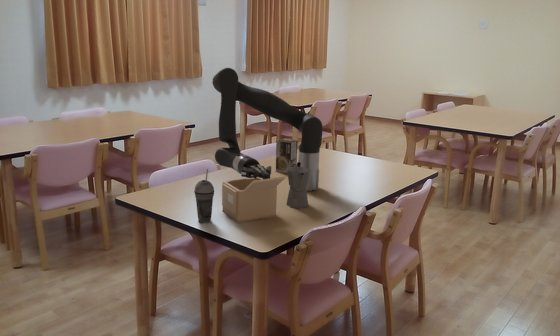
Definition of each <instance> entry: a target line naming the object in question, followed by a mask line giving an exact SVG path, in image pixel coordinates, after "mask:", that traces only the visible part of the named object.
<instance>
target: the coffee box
mask: <svg viewBox="0 0 560 336" xmlns="http://www.w3.org/2000/svg"><path fill="white" fill-rule="evenodd" d="M275 141H276V142H275V145H276V148H275V172H277V171H278V172H277V173H284V174H288V171H287V170H288V168H289V167H292V165H293V164H296V165H297V162H298V161H297V160H298V140H295V139H288V138H280V139H277V140H275Z"/></svg>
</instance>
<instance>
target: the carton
mask: <svg viewBox="0 0 560 336" xmlns="http://www.w3.org/2000/svg"><path fill="white" fill-rule="evenodd" d="M255 180H262V178H258V177H257V178H247V177H246V178H241V179H233V180H224V181H222V184H221V205H222V212H223V213H224V214H226V215H227V216H228V217H229V218H231V219H233V220H234V221H235V222H237V224H241V223H246V222H250V221H251V222H252V221H257V220H262V219H263V220H264V219H267V218H273V216H274V217H276V216H277V199H278V196H277V195H278V194H277V193H278V185H277V186H276V187H274V188H267V189H260V190H253V191H247V192H244V189H245V188H246V187H247V186H248V185H249V184H250V183H251V182H252V181H255Z"/></svg>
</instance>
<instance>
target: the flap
mask: <svg viewBox="0 0 560 336" xmlns="http://www.w3.org/2000/svg"><path fill="white" fill-rule="evenodd" d="M285 180H286V176H277V177H270V178H269V179H262V180H255V181H252V182H251V183H250V184H249V185H248V186H247V187H246V188H245V189H244V192H247V191H253V190H260V189H267V188H274V187H276V186H277V187H278V186H279V185H280V183H282V182H283V181H285Z"/></svg>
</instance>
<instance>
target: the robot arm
mask: <svg viewBox="0 0 560 336" xmlns="http://www.w3.org/2000/svg"><path fill="white" fill-rule="evenodd" d="M211 83H212V86H213V88H214V89H215V90H216V91H217V92H218V93H220V108H219V109H220V110H219V115H218V139H219V142H221V143H226V144H227V145H228V147H218V149H216V151H215V153H214V159H215V162H216V163H217V165H220V166H222V167H224V168H225V167H226V168H230V169H232V170H234V171H236V173H238V174H240V176H241V177H242V178H246V179H247V178H257V177H258V178H262V179H269V178H271V174H272V166H271V165H267V167H265V166H264V165H261V163H260V162H259V160H257V159H256V158H253V157H252V156H250V155H247V154H243V153H242V152H241V150H240V146H239V143H238V142H239V141H238V139H237V122H236V110H237V109H236V106H237V105H236V104H237V100H238V101H240V102H241V103H243V104H245V105H247V106H249V107H251V108H252V109H254V110H257V111H258V112H259V113H262V114H264V115H266V116H267V117H269V118H273V119H275V120H278V121H282V122H284V123H287V124H289V126H291V127H293V128H295V129H296V130H297V131H299V132H300V133H301V141H300V143H299V145H298V159H297V160H298V161H297V162H300V163H301V165H300V166H301V167H306V168H308V169H310V172H309V177H308V182H307V186H306V190H307V192H312V190H314V191H319V181H320V169H319V167H320V151H321V146H322V140H323V130H324V129H323V123H322V121H321V119H320V118H319V117H317V116H315V115H313V114H310V113H307V112H304V111H303V110H301V109H297V108H296V107H293V106H292V105H291V104H289V103H288V102H287V101H285V100H284V99H282V98H281V97H279V96H277V95H275V94H274V93H271V92H270V91H268V90H265V89H262V88H258V87H252V86H250V85H247V84H244V83H242V82H241V81H239V76H238V73H237V72H236V70H235V69H234V68H232V67H224V68H222V69H220V70H219V71H218V72H217V73H216V74H215V75H214V76H213V78H212V82H211Z"/></svg>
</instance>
